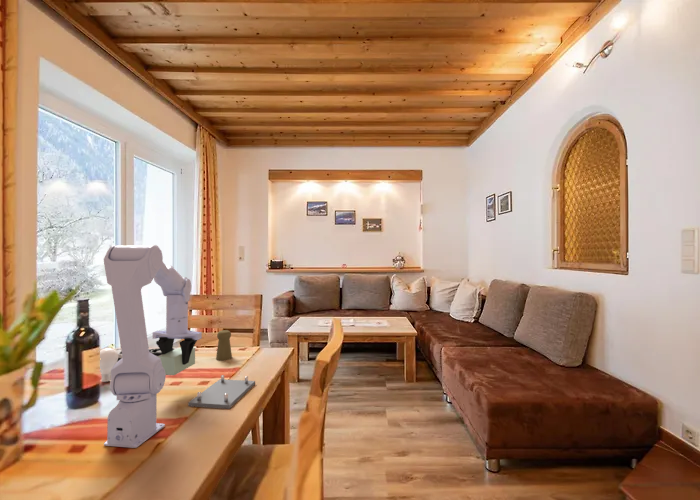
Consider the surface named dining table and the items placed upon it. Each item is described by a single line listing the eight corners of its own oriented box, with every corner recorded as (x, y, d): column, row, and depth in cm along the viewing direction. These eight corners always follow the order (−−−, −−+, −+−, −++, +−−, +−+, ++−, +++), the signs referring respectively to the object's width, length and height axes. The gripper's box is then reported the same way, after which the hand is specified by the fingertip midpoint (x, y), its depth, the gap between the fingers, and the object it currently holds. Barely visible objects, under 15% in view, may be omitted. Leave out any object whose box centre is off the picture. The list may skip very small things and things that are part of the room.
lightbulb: (103, 387, 104) (103, 351, 104) (89, 384, 106) (89, 350, 106) (122, 379, 110) (123, 346, 110) (109, 377, 112) (109, 344, 112)
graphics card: (116, 348, 136) (181, 345, 140) (116, 356, 136) (181, 353, 140) (102, 355, 127) (172, 352, 130) (102, 364, 126) (172, 361, 130)
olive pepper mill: (215, 357, 134) (215, 329, 134) (231, 355, 137) (231, 328, 137) (216, 361, 129) (216, 333, 129) (232, 359, 131) (232, 331, 132)
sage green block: (174, 375, 94) (174, 357, 94) (157, 374, 94) (158, 356, 94) (194, 363, 104) (195, 347, 104) (180, 363, 104) (180, 347, 104)
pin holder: (229, 408, 90) (229, 397, 90) (188, 406, 91) (188, 395, 91) (255, 384, 107) (255, 374, 107) (219, 382, 108) (219, 373, 108)
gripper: (207, 315, 102) (207, 359, 102) (163, 314, 104) (163, 357, 104) (193, 320, 95) (193, 367, 95) (147, 318, 97) (147, 365, 97)
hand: (176, 363), depth 99 cm, fingers closed on sage green block, 5 cm apart
